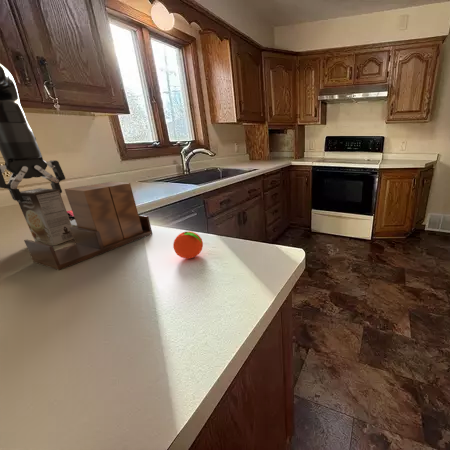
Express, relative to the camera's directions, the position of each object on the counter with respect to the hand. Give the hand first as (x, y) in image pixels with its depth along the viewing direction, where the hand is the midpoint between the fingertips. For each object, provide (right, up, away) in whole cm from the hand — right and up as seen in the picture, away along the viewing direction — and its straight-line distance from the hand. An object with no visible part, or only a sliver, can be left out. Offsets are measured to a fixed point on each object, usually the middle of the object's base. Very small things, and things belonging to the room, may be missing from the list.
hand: (40, 198), depth 73 cm
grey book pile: (+4, -10, +11) cm, 16 cm away
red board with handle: (-11, -5, +28) cm, 30 cm away
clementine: (+50, -17, -9) cm, 53 cm away
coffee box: (0, -13, +5) cm, 14 cm away
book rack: (+19, -14, -1) cm, 23 cm away
